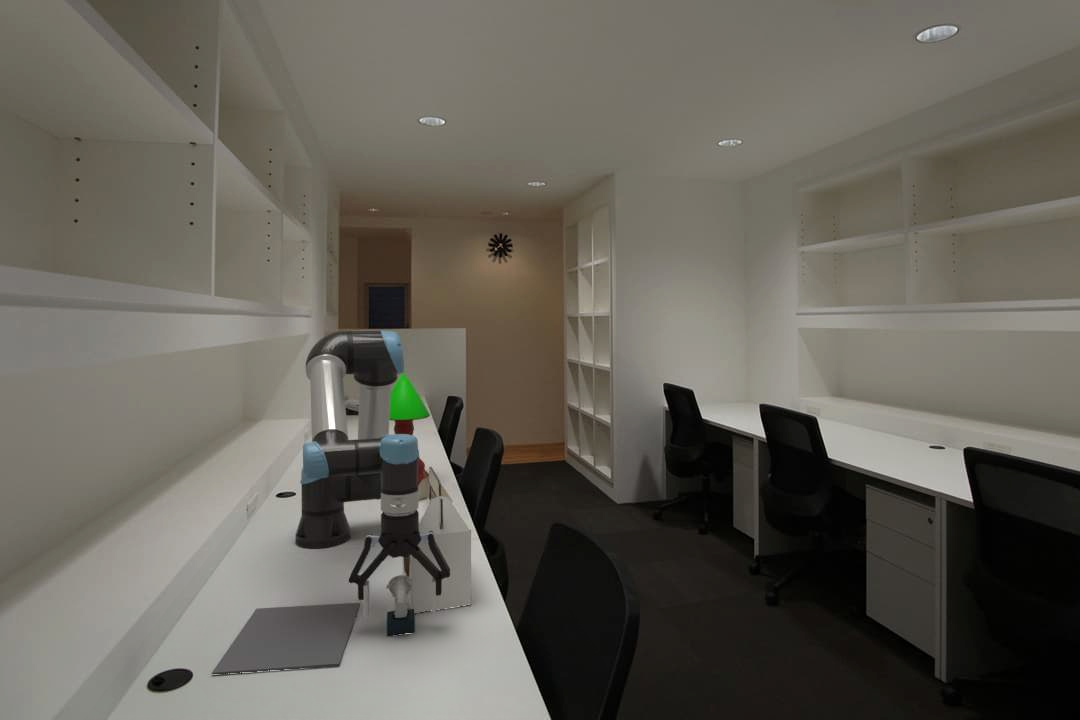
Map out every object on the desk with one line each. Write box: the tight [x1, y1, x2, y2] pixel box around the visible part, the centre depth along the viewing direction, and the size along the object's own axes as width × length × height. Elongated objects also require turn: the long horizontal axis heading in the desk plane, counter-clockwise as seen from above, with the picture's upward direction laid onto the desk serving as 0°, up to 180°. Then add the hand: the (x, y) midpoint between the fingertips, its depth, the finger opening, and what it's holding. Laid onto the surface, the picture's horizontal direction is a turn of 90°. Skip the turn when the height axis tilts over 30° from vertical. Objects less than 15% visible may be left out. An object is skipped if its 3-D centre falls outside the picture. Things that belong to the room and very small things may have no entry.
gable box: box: [402, 466, 472, 614], centre depth 139 cm, size 22×13×28 cm, turn 18°
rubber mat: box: [211, 602, 361, 675], centre depth 118 cm, size 24×22×1 cm
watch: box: [386, 574, 416, 637], centre depth 121 cm, size 6×8×11 cm
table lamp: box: [389, 371, 431, 485], centre depth 223 cm, size 20×20×45 cm
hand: (400, 612), depth 121 cm, fingers open, 13 cm apart
